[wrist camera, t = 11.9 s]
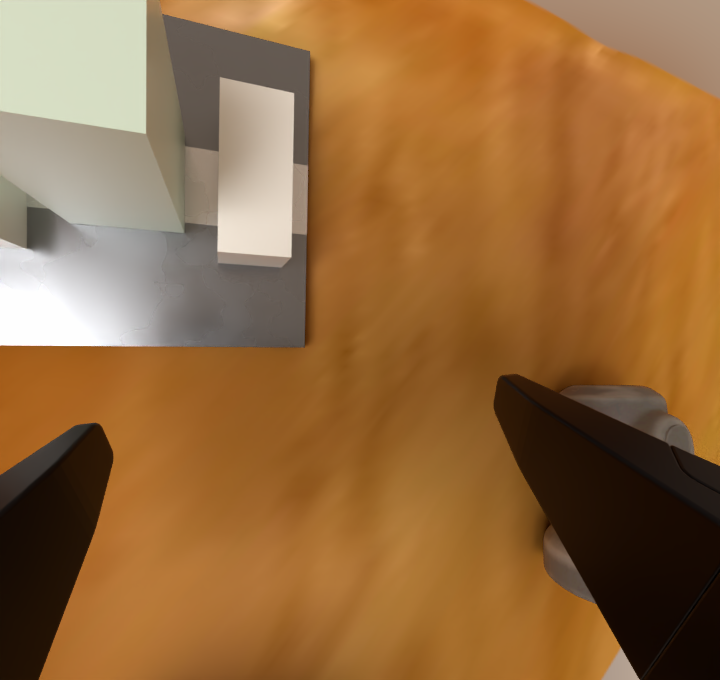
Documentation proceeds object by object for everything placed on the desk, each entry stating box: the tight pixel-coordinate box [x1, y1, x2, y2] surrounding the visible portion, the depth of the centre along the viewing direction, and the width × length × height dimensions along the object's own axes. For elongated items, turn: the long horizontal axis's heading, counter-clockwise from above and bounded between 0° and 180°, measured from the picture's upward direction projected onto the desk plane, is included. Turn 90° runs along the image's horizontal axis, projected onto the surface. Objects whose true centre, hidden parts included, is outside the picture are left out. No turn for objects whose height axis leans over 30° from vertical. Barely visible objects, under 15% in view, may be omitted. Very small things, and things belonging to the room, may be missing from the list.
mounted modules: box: [0, 77, 294, 268], centre depth 16 cm, size 14×7×3 cm, turn 89°
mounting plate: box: [0, 14, 310, 347], centre depth 18 cm, size 16×15×1 cm
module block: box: [0, 0, 185, 233], centre depth 13 cm, size 4×4×10 cm
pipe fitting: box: [543, 385, 694, 604], centre depth 23 cm, size 12×8×10 cm
